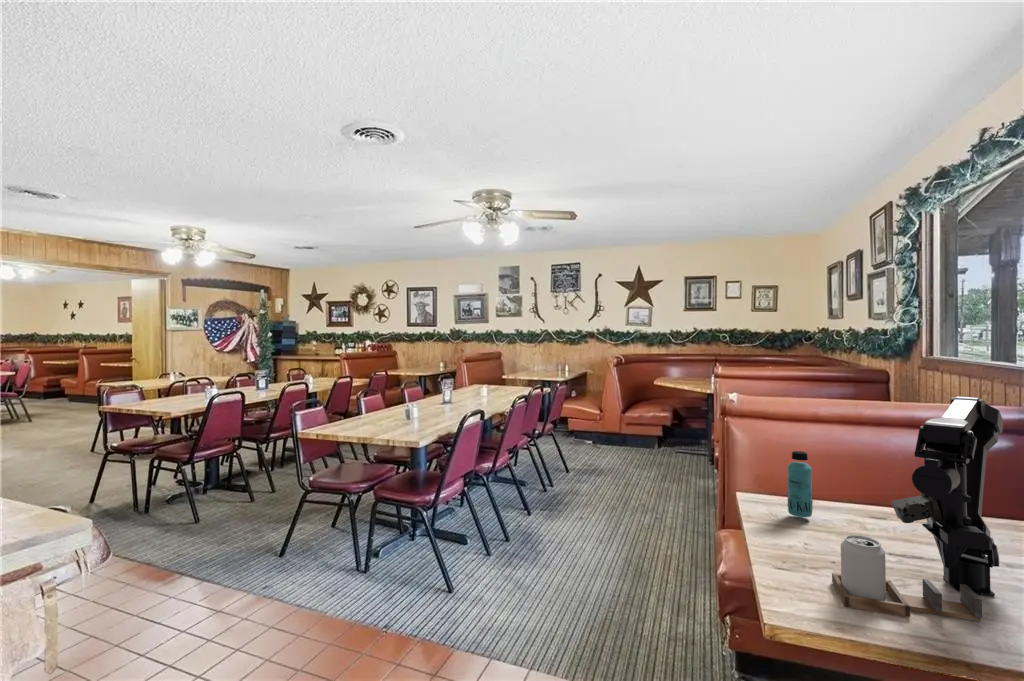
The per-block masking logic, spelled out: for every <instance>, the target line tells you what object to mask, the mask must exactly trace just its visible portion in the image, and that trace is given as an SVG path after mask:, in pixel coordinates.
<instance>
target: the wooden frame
mask: <svg viewBox="0 0 1024 681" xmlns="http://www.w3.org/2000/svg"><path fill="white" fill-rule="evenodd" d="M831 583H832V585H833V586H834V589H835V591H836V593H837V595H838V597H839V598H840V600H841V602H842V604H843V606H844V607H845V608H851V609H857V610H865V611H871V612H877V613H883V614H884V613H885V614H888V615H889V614H891V615H895V616H903V617H909V618H910V617H911V611H913V612H919V613H927V614H932V615H938V616H944V617H951V618H952V617H953V618H957V619H965V620H972V621H977V622H982V619H983V599H982V598H981V597H980V596H979V594H976V593H975V592H974V591H973V590H971V589H970V588H969V587H968V586H967V585H965V584H960V591H959V601H960V602H958V601H953V600H947V599H945V600H944V599H943V594H942V592H941V591H940V590H939V588H937V587H936V586H935V585H934V584H933V582H932V581H930V579H928V578H927V579H925V578H922V596H918V595H912V594H911V595H910V594H904V593H900V591H899V590H898V589H897V587H896V586H895V585H894V584H893V582H892V581H891V580H887V579H886V593H888V595H889V596H890V597H891V598H892V600H893V601H889V600H886V601H883V600H876V599H870V598H863V597H857V596H850V595H848V594H847V592H846V590H845V588H844V587H843V585H842V583H841V573H836V572H835V573H834V572H831Z"/></svg>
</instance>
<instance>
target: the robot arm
mask: <svg viewBox="0 0 1024 681" xmlns="http://www.w3.org/2000/svg"><path fill="white" fill-rule="evenodd" d="M1003 430H1004V420H1003V416H1002V413H1001V411H1000V410H999V409H997V408H996V407H993V406H991V405H989V404H987V403H986V401H985V400H984V399H983V398H980V397H972V396H971V397H970V396H953V397H951V400H950V405H949V406H948V408H947V409H946V410H945V412H944V413H943V414H942V416H941V417H937V418H936V417H935V418H934V417H933V418H930V419H928V420H926V421H925V422H924V423H923V425H921V426H920V427H919V430H918V435H917V438H916V446H915V450H914V457H915V458H920V459H921V458H922V459H923V460H924V463H923V465H921V466H919V467H917V468H916V469H914V471H913V473H912V475H911V481H912V484H913V486H914V487H915V489H916V490H917V491H918V492H920V493H921V495H917V496H916V495H915V496H909V497H904V498H899V499H895V500H892V501H890V502H891V503H890V504H891V506H892V508H893V509H894V512H895V515H896V517H897V518H898V519H900V521H901V523H904V524H912V523H914V522H917V521H922V520H926V523H921V526H922V527H923V528H924V529H926V530H927V531H928V532H929V533H930V534H931V535H932V536H933V539H934V541H935V543H936V548H937V549H938V554H939V557H940V560H941V561H942V562H941V563H942V566H943V575H942V578H943V580H944V581H945V582H946V583H947V584H949V586H951V588H953V589H954V590H955V591H957V592H960V584H965V585H967V586H968V587H969V588H970V589H971V590H973V591H974V592H975V593H976V594H977V595H983V596H991V597H995V596H996V593H995V592H994V591H993V590H992V589H991V588H992V587H991V569H993V568H994V567H995V568H996V567H997V568H998V567H1000V555H999V549H998V546H997V545H996V544H995V541H994V538H993V537H991V531H990V528H989V527H988V525H987V524H986V522H985V520H984V519H983V518H982V513H983V500H984V490H985V489H984V488H985V479H986V478H985V477H986V466H987V454H988V451H989V450H991V449H992V448H993V447H994V446H995V445H997V443H998V442H999V435H1000V434H1002V433H1003Z"/></svg>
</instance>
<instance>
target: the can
mask: <svg viewBox="0 0 1024 681" xmlns="http://www.w3.org/2000/svg"><path fill="white" fill-rule="evenodd" d="M843 539H844V540H843V541H842V542H841V543H840V567H841V568H840V574H841V583H842V585H843V587H844V588H845V590H846V592H847V594H848V595H850V596H857V597H863V598H870V599H876V600H883V601H887V592H886V580H887V579H886V578H887V575H886V572H887V571H886V551H885V550H884V548H882V543H881V542H880V541H879V540H877V539H875V538H872V537H869V536H865V535H861V534H859V535H858V534H849V535H848V534H847V535H845V536H844V537H843Z"/></svg>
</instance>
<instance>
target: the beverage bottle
mask: <svg viewBox="0 0 1024 681" xmlns="http://www.w3.org/2000/svg"><path fill="white" fill-rule="evenodd" d="M791 459H792V460H795V461H791V462H790V463H789V464H788V465H787V496H786V497H787V502H786V504H787V511H788V513H789V515H791V516H794V517H798V518H811V517H812V516H813V508H814V505H813V502H814V500H813V475H812V473H813V472H812V471H813V467H811V466H810V465H809V464H808V463H807V462H804V461H808V460H809V457H808V453H807V452H805V451H799V450H798V451H797V450H795V451H792V452H791ZM801 461H802V462H801Z"/></svg>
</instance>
